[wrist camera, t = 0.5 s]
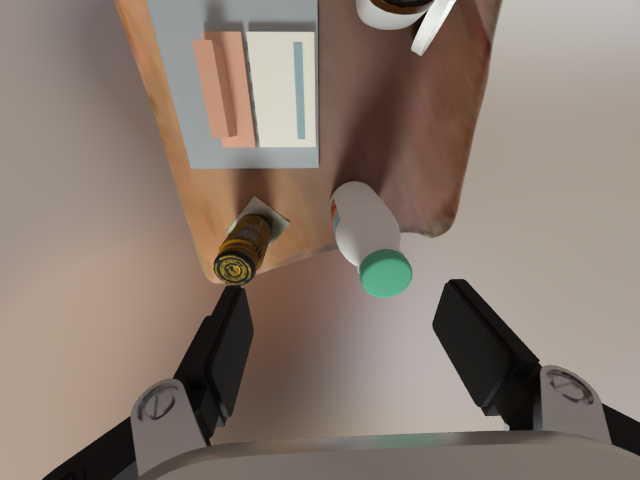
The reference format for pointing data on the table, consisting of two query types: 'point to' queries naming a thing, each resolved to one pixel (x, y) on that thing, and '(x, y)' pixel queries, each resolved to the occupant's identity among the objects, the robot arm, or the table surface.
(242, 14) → the board
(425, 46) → the spread jar
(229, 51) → the stub
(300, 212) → the table surface
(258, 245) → the condiment
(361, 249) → the milk bottle
